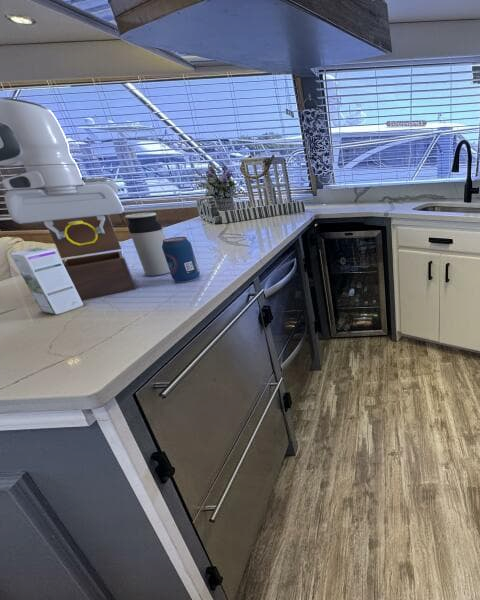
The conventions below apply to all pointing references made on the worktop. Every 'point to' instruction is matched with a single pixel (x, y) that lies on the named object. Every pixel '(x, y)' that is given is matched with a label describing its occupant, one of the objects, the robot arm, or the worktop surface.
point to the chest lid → (84, 237)
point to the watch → (76, 224)
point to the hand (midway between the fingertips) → (82, 236)
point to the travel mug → (148, 242)
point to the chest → (99, 274)
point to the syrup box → (47, 280)
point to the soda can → (180, 259)
